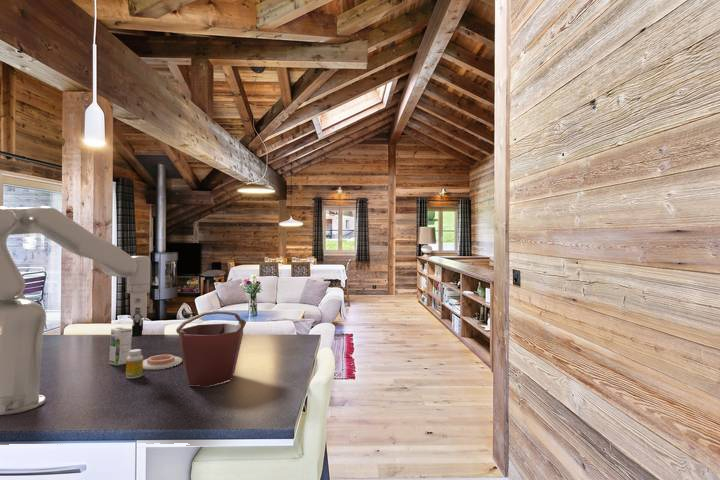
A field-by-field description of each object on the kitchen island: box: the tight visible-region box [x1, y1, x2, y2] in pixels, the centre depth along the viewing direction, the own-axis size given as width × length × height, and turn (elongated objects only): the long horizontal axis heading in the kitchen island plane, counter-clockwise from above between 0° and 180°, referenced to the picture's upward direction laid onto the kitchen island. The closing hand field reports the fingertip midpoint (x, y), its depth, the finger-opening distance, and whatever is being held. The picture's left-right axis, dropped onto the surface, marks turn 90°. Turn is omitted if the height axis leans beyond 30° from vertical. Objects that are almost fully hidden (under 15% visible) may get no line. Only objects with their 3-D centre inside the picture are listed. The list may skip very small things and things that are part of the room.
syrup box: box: [108, 326, 132, 367], centre depth 153 cm, size 6×6×14 cm
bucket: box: [175, 310, 247, 386], centre depth 136 cm, size 24×22×25 cm
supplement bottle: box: [125, 348, 144, 379], centre depth 137 cm, size 5×5×10 cm
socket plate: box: [143, 354, 183, 371], centre depth 153 cm, size 16×16×2 cm
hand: (137, 333), depth 138 cm, fingers open, 9 cm apart
